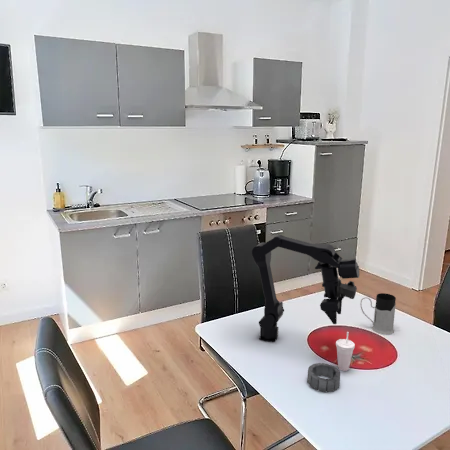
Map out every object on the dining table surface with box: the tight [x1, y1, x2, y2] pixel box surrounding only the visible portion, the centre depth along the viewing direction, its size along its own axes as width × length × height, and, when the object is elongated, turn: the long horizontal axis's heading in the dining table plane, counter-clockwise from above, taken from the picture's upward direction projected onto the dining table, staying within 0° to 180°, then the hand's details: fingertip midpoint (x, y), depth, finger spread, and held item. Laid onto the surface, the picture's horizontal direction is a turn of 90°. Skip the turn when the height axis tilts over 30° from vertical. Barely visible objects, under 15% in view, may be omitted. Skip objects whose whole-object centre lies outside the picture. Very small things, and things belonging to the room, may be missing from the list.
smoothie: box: [335, 331, 356, 372], centre depth 142 cm, size 6×6×14 cm
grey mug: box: [360, 293, 397, 336], centre depth 171 cm, size 9×14×15 cm, turn 73°
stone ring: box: [306, 362, 341, 393], centre depth 135 cm, size 10×10×4 cm
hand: (337, 318), depth 151 cm, fingers open, 9 cm apart
